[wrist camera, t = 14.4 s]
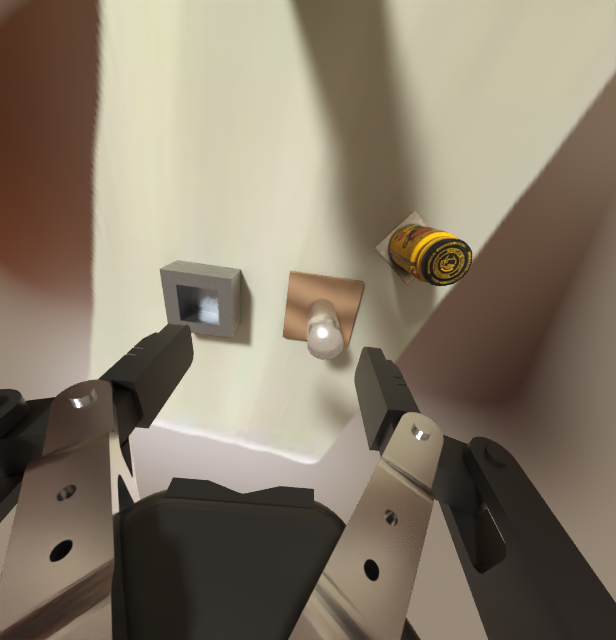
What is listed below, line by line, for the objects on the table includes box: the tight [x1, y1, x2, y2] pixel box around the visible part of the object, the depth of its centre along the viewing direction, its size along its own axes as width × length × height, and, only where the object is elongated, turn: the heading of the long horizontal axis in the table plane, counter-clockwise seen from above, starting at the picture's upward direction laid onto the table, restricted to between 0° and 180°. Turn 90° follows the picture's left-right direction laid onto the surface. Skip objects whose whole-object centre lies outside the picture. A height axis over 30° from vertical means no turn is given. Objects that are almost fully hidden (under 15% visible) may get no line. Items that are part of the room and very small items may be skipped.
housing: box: [160, 261, 241, 338], centre depth 38 cm, size 10×10×5 cm
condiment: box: [375, 210, 472, 286], centre depth 31 cm, size 7×8×12 cm
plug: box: [308, 299, 344, 360], centre depth 36 cm, size 5×5×10 cm
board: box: [283, 271, 364, 345], centre depth 40 cm, size 12×12×1 cm
